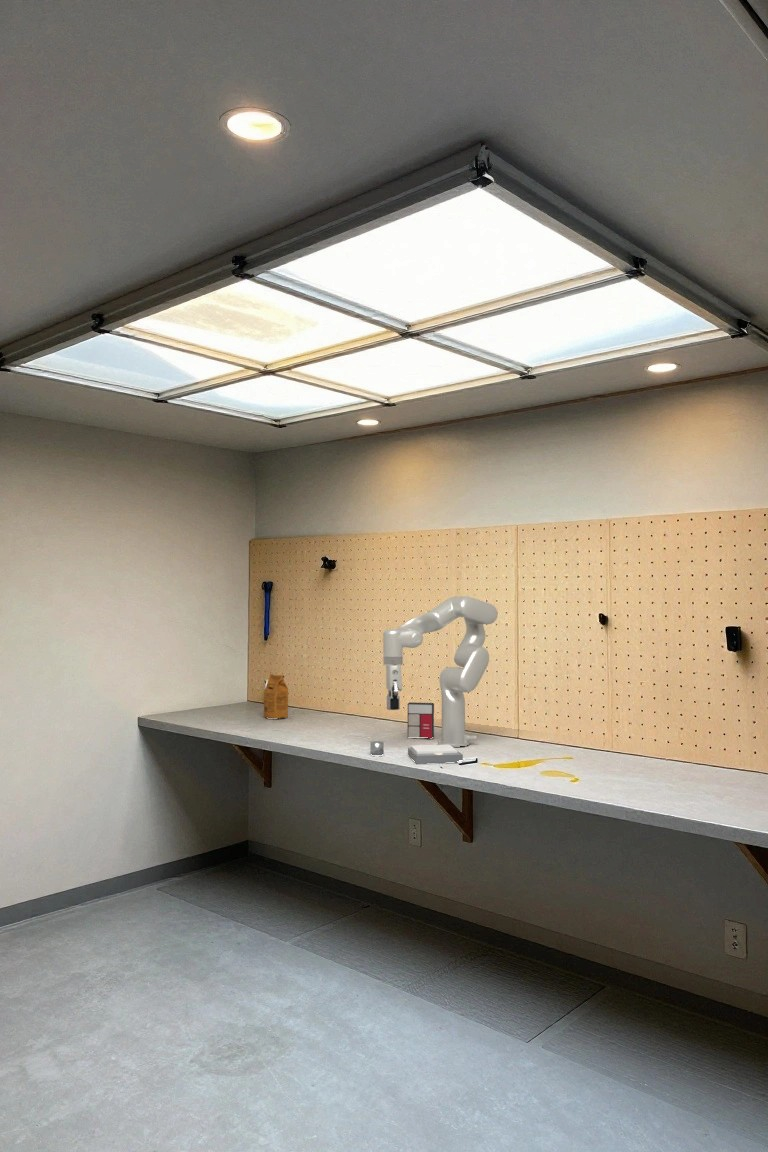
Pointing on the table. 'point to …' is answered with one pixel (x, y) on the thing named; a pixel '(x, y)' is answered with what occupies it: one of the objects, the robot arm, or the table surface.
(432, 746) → the block
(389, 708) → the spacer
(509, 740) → the table surface
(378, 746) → the spacer
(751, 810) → the table surface
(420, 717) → the grey and red box
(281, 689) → the coffee package
